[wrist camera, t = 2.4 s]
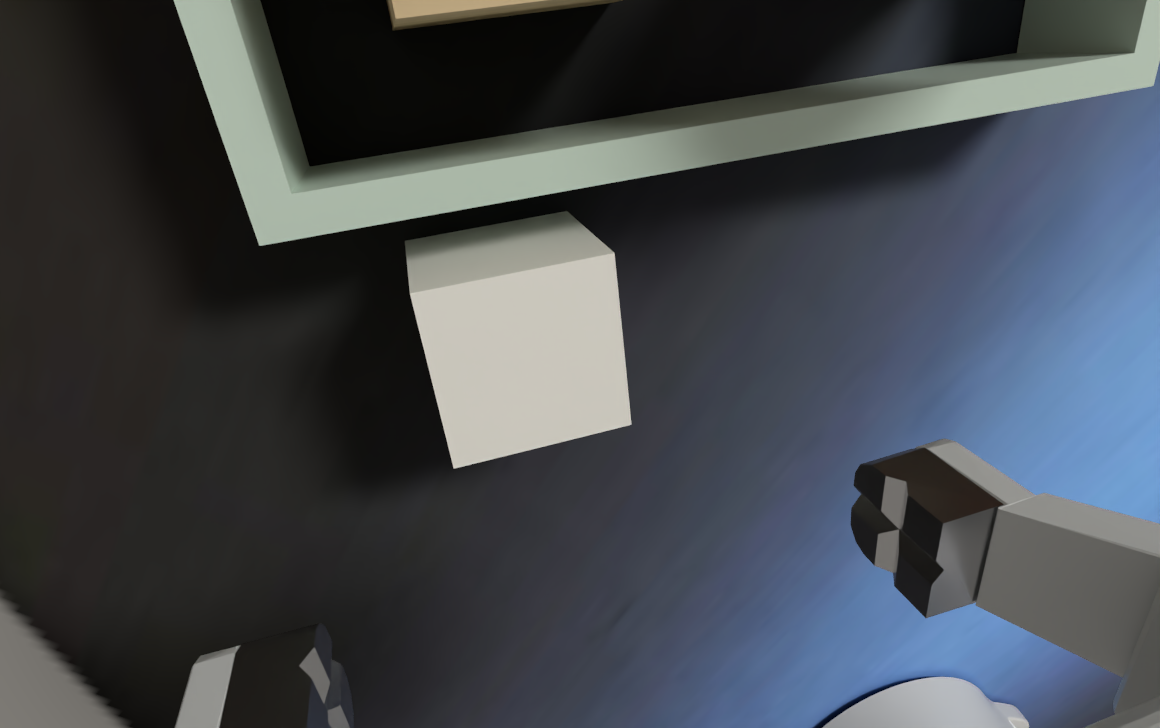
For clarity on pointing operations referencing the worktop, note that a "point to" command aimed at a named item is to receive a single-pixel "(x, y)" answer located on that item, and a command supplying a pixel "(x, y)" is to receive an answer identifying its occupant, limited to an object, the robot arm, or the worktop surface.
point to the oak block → (470, 10)
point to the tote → (632, 119)
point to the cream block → (520, 334)
